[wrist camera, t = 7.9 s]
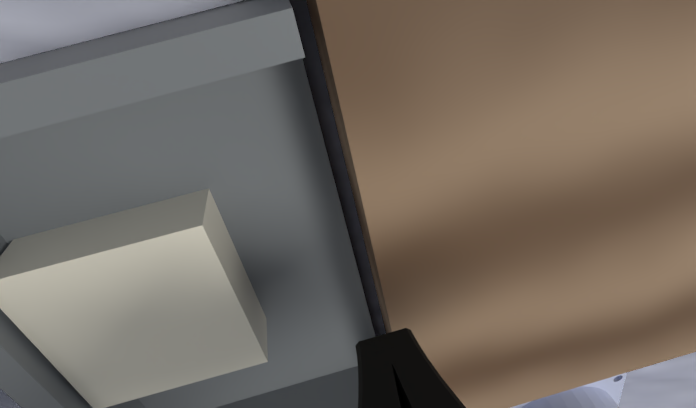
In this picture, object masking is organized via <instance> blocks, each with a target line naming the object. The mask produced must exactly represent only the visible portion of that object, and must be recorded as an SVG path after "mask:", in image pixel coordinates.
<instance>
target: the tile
mask: <svg viewBox="0 0 696 408" xmlns="http://www.w3.org/2000/svg"><path fill="white" fill-rule="evenodd" d="M0 309H1V310H2V311H3V312H4V313H5V314H6V315H7V316H8V317H9V318H10V320H11V321H12V322H13V323H14V324H15V325H16V326H17V327H18V328H19V329H20V330H21V331H22V332H23V333H24V335H25V336H26V337H27V338H28V339H29V340H30V341H31V342H32V343H33V344H34V345H35V346H36V347H37V348H38V350H39V351H40V352H41V353H42V354H43V355H44V356H45V357H46V358H47V359H48V360H49V361H50V362H51V364H52V365H53V366H54V367H55V368H56V369H57V370H58V371H59V372H60V373H61V374H62V375H63V376H64V377H65V379H66V380H67V381H68V382H69V383H70V384H71V385H72V386H73V387H74V388H75V389H76V390H77V391H78V392H79V394H80V395H81V396H82V397H83V398H84V399H85V400H86V401H87V402H88V403H89V404H90V405H91V406H92V407H93V408H106V407H109V406H113V405H116V404H120V403H123V402H127V401H131V400H134V399H138V398H141V397H145V396H148V395H152V394H155V393H159V392H163V391H166V390H170V389H173V388H177V387H180V386H184V385H187V384H191V383H194V382H198V381H202V380H205V379H209V378H212V377H216V376H219V375H223V374H226V373H230V372H234V371H237V370H241V369H244V368H248V367H251V366H255V365H258V364H262V363H266V362H268V351H267V319H266V316H265V314H264V312H263V310H262V307H261V305H260V303H259V301H258V298H257V296H256V294H255V292H254V289H253V287H252V285H251V282H250V280H249V278H248V276H247V273H246V271H245V269H244V267H243V264H242V262H241V260H240V258H239V255H238V253H237V251H236V249H235V246H234V244H233V242H232V240H231V237H230V235H229V233H228V230H227V228H226V226H225V224H224V221H223V219H222V217H221V215H220V212H219V210H218V208H217V206H216V203H215V201H214V199H213V197H212V194H211V192H210V190H209V189H205V190H201V191H197V192H193V193H189V194H186V195H182V196H178V197H174V198H170V199H167V200H163V201H159V202H155V203H151V204H147V205H144V206H140V207H136V208H132V209H128V210H124V211H121V212H117V213H113V214H109V215H105V216H101V217H98V218H94V219H90V220H86V221H82V222H79V223H75V224H71V225H67V226H63V227H59V228H56V229H52V230H48V231H44V232H40V233H36V234H33V235H29V236H25V237H21V238H17V239H13V241H12V242H11V243H10V244H9V246H8V247H7V248H6V250H5V251H4V252H3V253H2V255H1V256H0Z"/></svg>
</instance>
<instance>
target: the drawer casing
mask: <svg viewBox="0 0 696 408" xmlns="http://www.w3.org/2000/svg"><path fill="white" fill-rule="evenodd" d="M306 1H307V5H308V10H309V14H310V18H311V22H312V26H313V30H314V35H315V39H316V43H317V47H318V51H319V55H320V60H321V64H322V68H323V72H324V76H325V80H326V84H327V89H328V93H329V97H330V101H331V105H332V109H333V114H334V118H335V122H336V126H337V130H338V134H339V139H340V143H341V147H342V151H343V155H344V159H345V164H346V168H347V172H348V176H349V180H350V184H351V188H352V193H353V197H354V201H355V205H356V209H357V213H358V218H359V222H360V226H361V230H362V234H363V238H364V243H365V247H366V251H367V255H368V259H369V263H370V268H371V272H372V276H373V280H374V284H375V288H376V292H377V297H378V301H379V305H380V309H381V313H382V317H383V322H384V326H385V330H386V333H390V332H393V331H397V330H400V329H404V328H408V329H410V330H411V331H412V333H413V335H414V337H415V338H416V340H417V342H418V343H419V345H420V347H421V348H422V350H423V351H424V353H425V354H426V356H427V357H428V359H429V360H430V362H431V363H432V365H433V366H434V367H435V369H436V370H437V372H438V373H439V374H440V376H441V377H442V378H443V380H444V381H445V382H446V383H447V385H448V386H449V387H450V388H451V390H452V391H453V392H454V393H455V395H456V396H457V397H458V398H459V400H460V401H461V402H462V403H463V405H464V406H465V407H466V408H510V407H514V406H517V405H520V404H524V403H527V402H530V401H534V400H537V399H540V398H543V397H547V396H550V395H553V394H557V393H560V392H563V391H567V390H570V389H573V388H577V387H580V386H583V385H587V384H590V383H593V382H597V381H600V380H603V379H607V378H610V377H613V376H617V375H620V374H623V373H626V372H630V371H633V370H636V369H640V368H643V367H646V366H650V365H653V364H656V363H660V362H663V361H666V360H670V359H673V358H676V357H680V356H683V355H686V354H690V353H693V352H696V0H306Z"/></svg>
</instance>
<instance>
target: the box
mask: <svg viewBox="0 0 696 408" xmlns="http://www.w3.org/2000/svg"><path fill="white" fill-rule="evenodd" d="M302 58H305V54H304V51H303V47H302V43H301V39H300V35H299V31H298V27H297V24H296V20H295V16H294V12H293V8H292V6H291V4H290V2H289V0H245V1H241V2H237V3H234V4H230V5H226V6H222V7H218V8H214V9H210V10H206V11H203V12H199V13H195V14H191V15H187V16H183V17H179V18H175V19H171V20H168V21H164V22H160V23H156V24H152V25H148V26H144V27H140V28H137V29H133V30H129V31H125V32H121V33H117V34H113V35H109V36H106V37H102V38H98V39H94V40H90V41H86V42H82V43H78V44H75V45H71V46H67V47H63V48H59V49H55V50H51V51H47V52H44V53H40V54H36V55H32V56H28V57H24V58H20V59H16V60H12V61H9V62H5V63H1V64H0V256H1V255H2V253H3V252H4V251H5V250H6V248H7V247H8V246H9V244H10V243H11V242H12V241H13V239H17V238H21V237H25V236H29V235H33V234H36V233H40V232H44V231H48V230H52V229H56V228H59V227H63V226H67V225H71V224H75V223H79V222H82V221H86V220H90V219H94V218H98V217H101V216H105V215H109V214H113V213H117V212H121V211H124V210H128V209H132V208H136V207H140V206H144V205H147V204H151V203H155V202H159V201H163V200H167V199H170V198H174V197H178V196H182V195H186V194H189V193H193V192H197V191H201V190H205V189H209V190H210V192H211V194H212V197H213V199H214V201H215V203H216V206H217V208H218V210H219V212H220V215H221V217H222V219H223V221H224V224H225V226H226V228H227V230H228V233H229V235H230V237H231V240H232V242H233V244H234V246H235V249H236V251H237V253H238V255H239V258H240V260H241V262H242V264H243V267H244V269H245V271H246V273H247V276H248V278H249V280H250V282H251V285H252V287H253V289H254V292H255V294H256V296H257V298H258V301H259V303H260V305H261V307H262V310H263V312H264V314H265V316H266V319H267V351H268V362H266V363H262V364H258V365H255V366H251V367H248V368H244V369H241V370H237V371H234V372H230V373H226V374H223V375H219V376H216V377H212V378H209V379H205V380H202V381H198V382H194V383H191V384H187V385H184V386H180V387H177V388H173V389H170V390H166V391H163V392H159V393H155V394H152V395H148V396H145V397H141V398H138V399H134V400H131V401H127V402H123V403H120V404H116V405H113V406H109V407H106V408H358V362H357V353H356V347H355V345H356V344H357V343H358V342H359V341H362V340H366V339H369V338H372V337H376V336H375V333H374V329H373V325H372V321H371V317H370V314H369V310H368V306H367V302H366V298H365V295H364V291H363V287H362V283H361V279H360V276H359V272H358V268H357V264H356V260H355V257H354V253H353V249H352V245H351V241H350V238H349V234H348V230H347V226H346V222H345V219H344V215H343V211H342V207H341V203H340V200H339V196H338V192H337V188H336V184H335V181H334V177H333V173H332V169H331V166H330V162H329V158H328V154H327V150H326V147H325V143H324V139H323V135H322V131H321V128H320V124H319V120H318V116H317V112H316V109H315V105H314V101H313V97H312V93H311V90H310V86H309V82H308V78H307V74H306V71H305V67H304V63H303V59H302ZM0 389H1V390H3V391H4V392H5V393H6V394H7V395H8V396H9V397H10V398H12V399H13V400H14V401H15V402H16V403H17V404H18V405H19V406H21V407H22V408H93V407H92V406H91V405H90V404H89V403H88V402H87V401H86V400H85V399H84V398H83V397H82V396H81V395H80V394H79V392H78V391H77V390H76V389H75V388H74V387H73V386H72V385H71V384H70V383H69V382H68V381H67V380H66V379H65V377H64V376H63V375H62V374H61V373H60V372H59V371H58V370H57V369H56V368H55V367H54V366H53V365H52V364H51V362H50V361H49V360H48V359H47V358H46V357H45V356H44V355H43V354H42V353H41V352H40V351H39V350H38V348H37V347H36V346H35V345H34V344H33V343H32V342H31V341H30V340H29V339H28V338H27V337H26V336H25V335H24V333H23V332H22V331H21V330H20V329H19V328H18V327H17V326H16V325H15V324H14V323H13V322H12V321H11V320H10V318H9V317H8V316H7V315H6V314H5V313H4V312H3V311H2V310H1V309H0Z"/></svg>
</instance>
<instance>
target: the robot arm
mask: <svg viewBox="0 0 696 408" xmlns="http://www.w3.org/2000/svg"><path fill="white" fill-rule="evenodd" d="M355 347H356V353H357V362H358V408H466V407H465V406H464V405H463V403H462V402H461V401H460V400H459V398H458V397H457V396H456V395H455V393H454V392H453V391H452V390H451V388H450V387H449V386H448V385H447V383H446V382H445V381H444V380H443V378H442V377H441V376H440V374H439V373H438V372H437V370H436V369H435V367H434V366H433V365H432V363H431V362H430V360H429V359H428V357H427V356H426V354H425V353H424V351H423V350H422V348H421V347H420V345H419V343H418V342H417V340H416V338H415V337H414V335H413V333H412V331H411V330H410V329H408V328H404V329H400V330H397V331H393V332H390V333H386V334H383V335H379V336H376V337H372V338H369V339H366V340H362V341H359V342H358V343H357V344H356V345H355ZM626 374H627V372H626V373H623V374H620V375H617V376H613V377H610V378H607V379H603V380H600V381H597V382H593V383H590V384H587V385H583V386H580V387H577V388H573V389H570V390H567V391H563V392H560V393H557V394H553V395H550V396H547V397H543V398H540V399H537V400H534V401H530V402H527V403H524V404H520V405H517V406H514V407H510V408H619V406H618V405H619V401H620V398H621V394H622V390H623V386H624V382H625V378H626Z"/></svg>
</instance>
